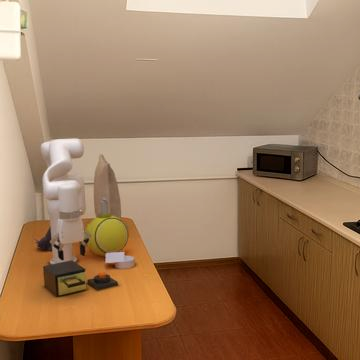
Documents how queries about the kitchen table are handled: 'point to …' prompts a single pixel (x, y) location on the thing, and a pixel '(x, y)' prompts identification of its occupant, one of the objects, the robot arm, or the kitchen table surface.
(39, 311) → the kitchen table surface
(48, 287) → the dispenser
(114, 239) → the toy
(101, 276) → the button
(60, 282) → the tray
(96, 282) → the control block
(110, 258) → the wedge on round base
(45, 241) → the dragon figurine
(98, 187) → the pillow
